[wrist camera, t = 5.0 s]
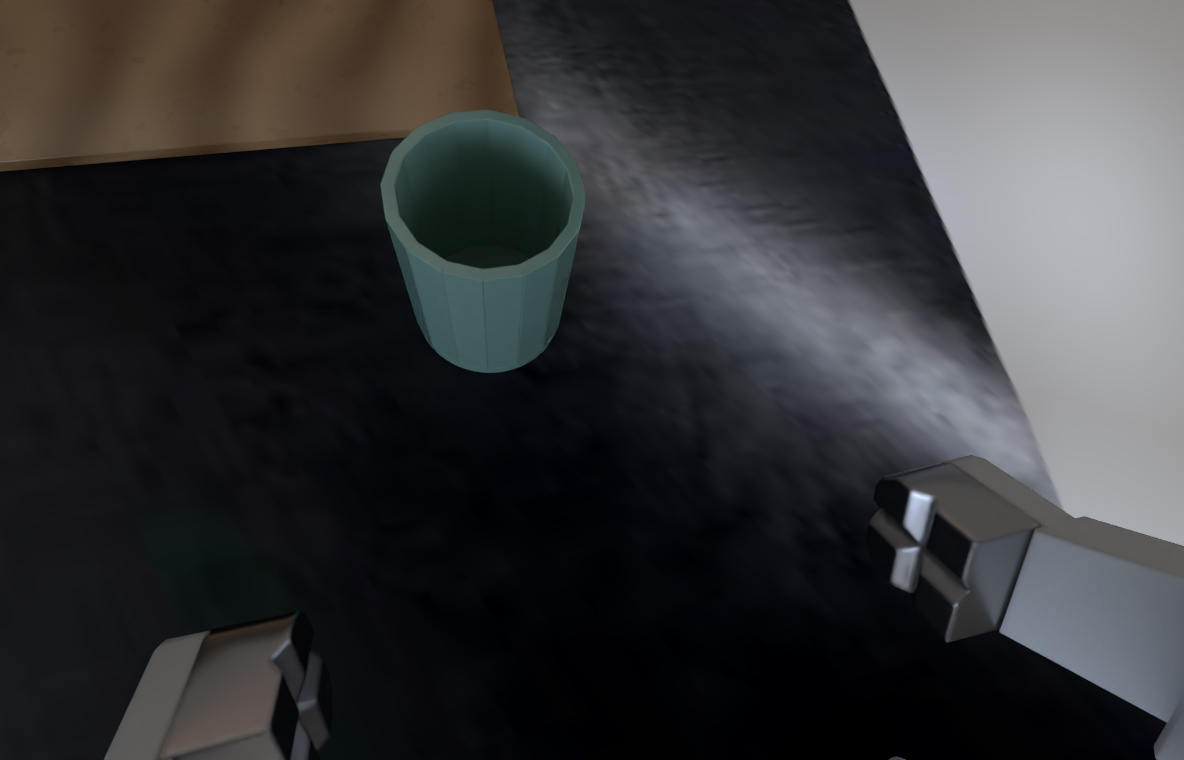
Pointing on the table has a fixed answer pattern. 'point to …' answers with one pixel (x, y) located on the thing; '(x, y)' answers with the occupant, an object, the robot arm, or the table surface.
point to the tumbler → (484, 234)
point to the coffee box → (896, 758)
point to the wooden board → (235, 74)
